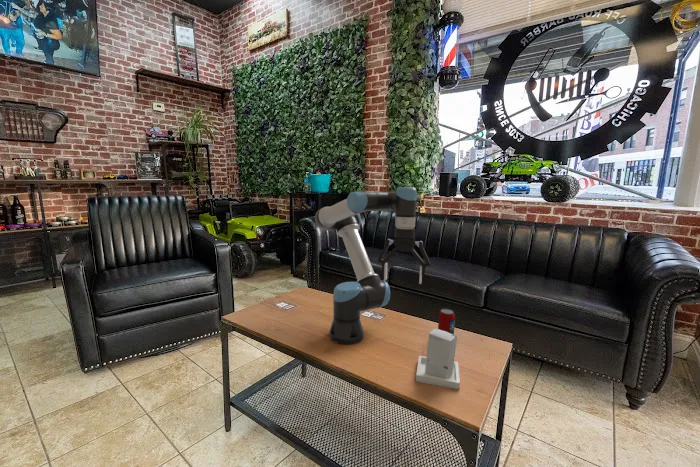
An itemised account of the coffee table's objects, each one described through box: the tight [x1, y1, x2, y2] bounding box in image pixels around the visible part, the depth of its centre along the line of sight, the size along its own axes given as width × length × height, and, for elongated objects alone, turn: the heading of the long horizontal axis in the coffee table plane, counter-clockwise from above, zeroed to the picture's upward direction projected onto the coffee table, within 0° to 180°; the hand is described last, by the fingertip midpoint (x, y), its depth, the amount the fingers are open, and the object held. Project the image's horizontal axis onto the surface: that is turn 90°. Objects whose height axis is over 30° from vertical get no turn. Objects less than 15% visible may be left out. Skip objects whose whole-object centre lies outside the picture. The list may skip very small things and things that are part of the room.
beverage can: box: [437, 308, 456, 335], centre depth 136 cm, size 7×7×12 cm
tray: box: [415, 355, 461, 390], centre depth 109 cm, size 14×13×2 cm
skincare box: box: [425, 327, 458, 379], centre depth 108 cm, size 8×6×15 cm
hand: (402, 281), depth 122 cm, fingers open, 13 cm apart
